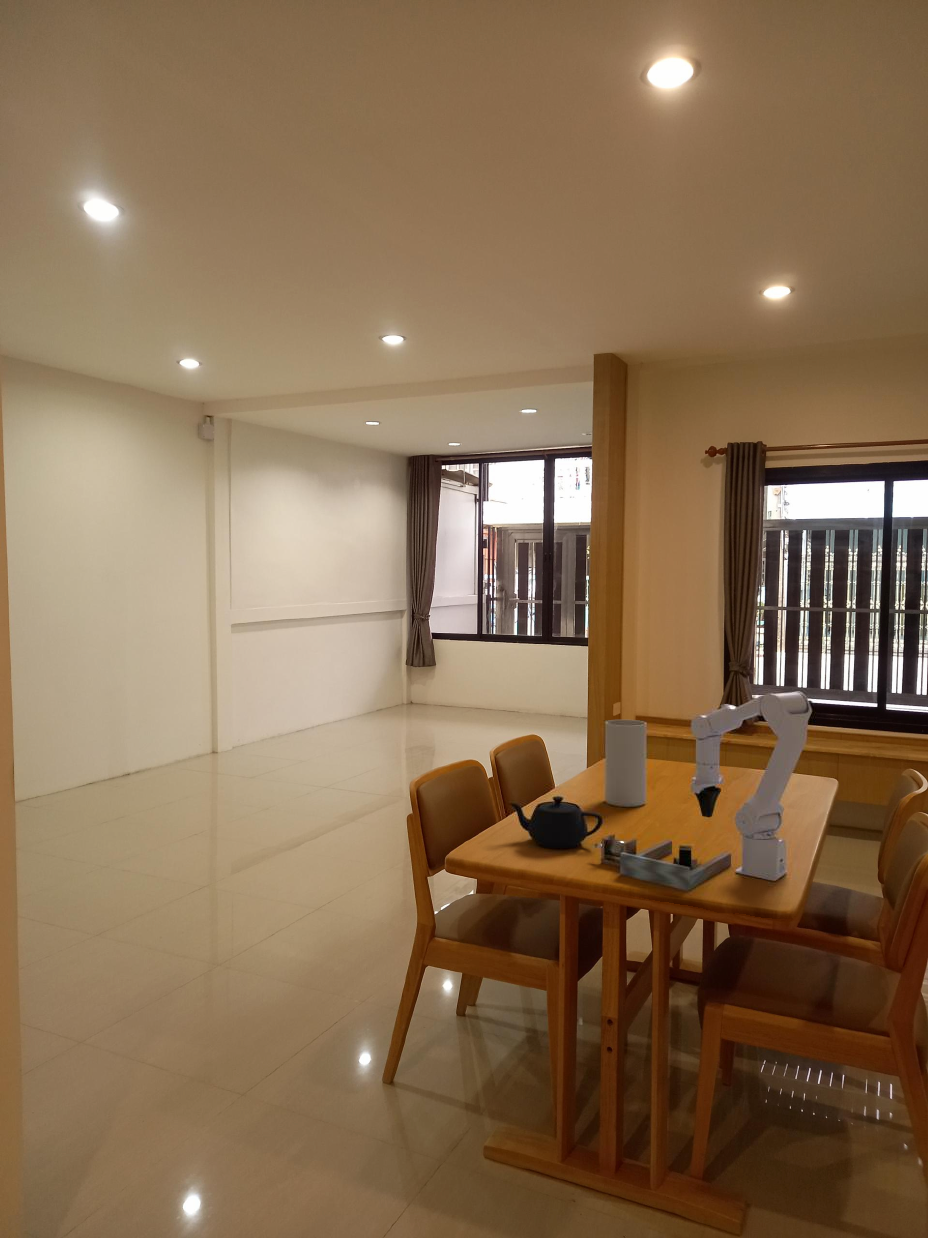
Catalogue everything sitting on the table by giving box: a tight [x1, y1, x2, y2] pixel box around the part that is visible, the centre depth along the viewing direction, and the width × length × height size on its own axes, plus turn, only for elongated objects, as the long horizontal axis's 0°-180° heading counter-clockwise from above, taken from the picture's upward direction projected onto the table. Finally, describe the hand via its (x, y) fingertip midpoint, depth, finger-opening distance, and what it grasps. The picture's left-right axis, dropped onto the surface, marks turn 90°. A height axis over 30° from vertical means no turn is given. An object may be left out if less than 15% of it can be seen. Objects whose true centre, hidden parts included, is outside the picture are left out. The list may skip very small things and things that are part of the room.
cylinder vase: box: [604, 719, 647, 808], centre depth 269 cm, size 12×12×25 cm
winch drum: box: [594, 833, 637, 868], centre depth 211 cm, size 9×5×6 cm, turn 50°
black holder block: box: [673, 844, 698, 871], centre depth 210 cm, size 12×7×5 cm, turn 165°
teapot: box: [508, 795, 604, 850], centre depth 227 cm, size 25×16×12 cm, turn 74°
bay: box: [619, 839, 732, 892], centre depth 205 cm, size 17×23×5 cm
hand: (707, 816), depth 218 cm, fingers closed
